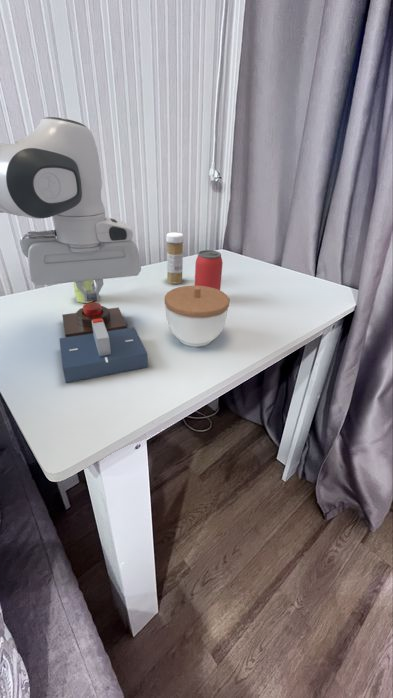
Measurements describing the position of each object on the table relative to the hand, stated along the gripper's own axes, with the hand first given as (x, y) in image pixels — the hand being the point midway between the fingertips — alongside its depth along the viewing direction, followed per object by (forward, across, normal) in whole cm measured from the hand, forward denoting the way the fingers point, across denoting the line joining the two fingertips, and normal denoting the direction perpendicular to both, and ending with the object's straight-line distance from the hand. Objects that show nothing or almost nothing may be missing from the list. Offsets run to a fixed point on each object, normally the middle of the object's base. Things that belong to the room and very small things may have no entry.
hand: (91, 299), depth 67 cm
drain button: (+3, 0, 0) cm, 3 cm away
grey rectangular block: (+4, 0, -12) cm, 12 cm away
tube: (+7, 0, +16) cm, 18 cm away
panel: (+7, 0, -12) cm, 14 cm away
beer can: (+7, +29, +7) cm, 31 cm away
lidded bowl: (+7, +19, -10) cm, 22 cm away
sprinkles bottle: (+7, +25, +21) cm, 33 cm away
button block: (+7, 0, 0) cm, 7 cm away
